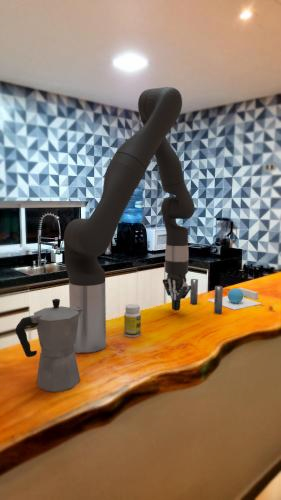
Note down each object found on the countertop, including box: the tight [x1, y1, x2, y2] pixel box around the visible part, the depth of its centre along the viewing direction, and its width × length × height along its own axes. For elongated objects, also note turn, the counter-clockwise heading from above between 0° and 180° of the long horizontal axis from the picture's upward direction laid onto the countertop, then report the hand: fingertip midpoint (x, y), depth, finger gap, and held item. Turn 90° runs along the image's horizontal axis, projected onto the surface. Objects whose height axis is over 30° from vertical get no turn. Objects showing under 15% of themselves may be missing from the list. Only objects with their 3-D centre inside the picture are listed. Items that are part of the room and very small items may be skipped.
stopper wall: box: [237, 287, 259, 300], centre depth 144 cm, size 2×9×2 cm, turn 32°
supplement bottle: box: [123, 303, 142, 338], centre depth 104 cm, size 5×5×8 cm
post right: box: [213, 285, 224, 315], centre depth 123 cm, size 3×3×9 cm
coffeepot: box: [15, 298, 84, 393], centre depth 76 cm, size 15×9×18 cm, turn 134°
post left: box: [189, 278, 199, 306], centre depth 133 cm, size 3×3×9 cm
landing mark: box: [206, 295, 263, 311], centre depth 136 cm, size 14×14×1 cm
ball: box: [227, 287, 244, 303], centre depth 135 cm, size 6×6×6 cm
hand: (175, 309), depth 122 cm, fingers closed
